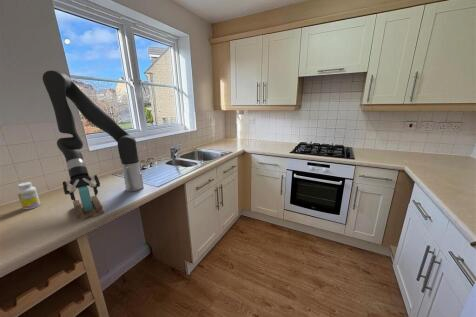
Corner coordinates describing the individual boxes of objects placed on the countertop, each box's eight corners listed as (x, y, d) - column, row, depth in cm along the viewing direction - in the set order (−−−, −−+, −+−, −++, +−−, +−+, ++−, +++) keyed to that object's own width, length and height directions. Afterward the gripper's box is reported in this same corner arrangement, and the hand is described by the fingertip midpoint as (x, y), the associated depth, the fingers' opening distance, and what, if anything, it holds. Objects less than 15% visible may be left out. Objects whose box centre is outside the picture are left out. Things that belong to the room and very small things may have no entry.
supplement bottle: (27, 204, 105) (20, 182, 102) (43, 202, 108) (36, 180, 104) (19, 211, 99) (11, 187, 96) (36, 208, 102) (29, 185, 98)
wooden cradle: (97, 201, 109) (96, 195, 108) (103, 213, 97) (102, 206, 96) (74, 207, 102) (72, 201, 101) (77, 221, 90) (76, 214, 89)
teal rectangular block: (91, 205, 103) (86, 185, 100) (93, 209, 99) (88, 188, 96) (82, 207, 100) (77, 187, 97) (84, 211, 96) (79, 191, 93)
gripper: (58, 168, 94) (65, 199, 89) (94, 162, 104) (102, 189, 99) (60, 176, 100) (67, 205, 95) (94, 169, 109) (102, 196, 104)
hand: (85, 197), depth 97 cm, fingers open, 8 cm apart
